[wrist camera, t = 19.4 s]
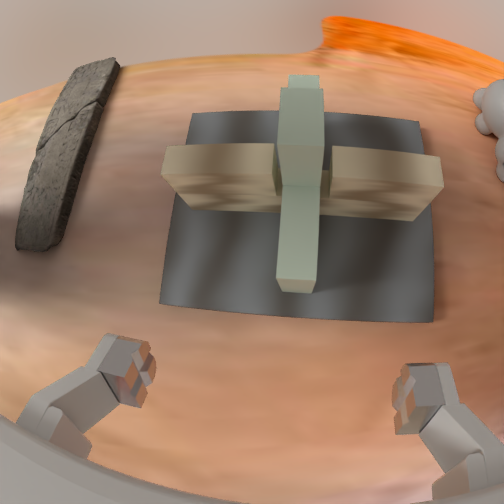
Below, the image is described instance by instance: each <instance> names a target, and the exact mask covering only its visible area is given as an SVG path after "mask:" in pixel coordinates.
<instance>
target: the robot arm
mask: <svg viewBox="0 0 504 504" xmlns="http://www.w3.org/2000/svg"><path fill="white" fill-rule="evenodd" d="M150 349H151V347H150V345H149V343H148V342H147V341H142V340H137V339H133V338H128V337H124V336H120V335H115V334H111V333H107V334H106V335H104V336H103V338H102V340H101V341H100V343H99V344H98V346H97V348H96V349H95V351H94V352H93V354H92V356H91V357H90V359H89V361H88V362H87V364H86V366H85V367H82V366H81V367H79V368H78V369H76V370H74V371H73V372H71V373H69V374H68V375H66V376H64V377H63V378H61V379H59V380H57V381H56V382H54V383H52V384H51V385H49V386H47V387H46V388H44V389H42V390H40V391H39V392H37V393H35V394H34V395H32V396H31V398H30V400H29V401H28V403H27V405H26V406H25V408H24V410H23V411H22V413H21V415H20V417H19V418H18V420H17V422H16V423H14V422H13V421H11V420H9V419H8V418H6V417H4V416H3V415H1V414H0V504H249V503H242V502H235V501H229V500H223V499H217V498H212V497H207V496H202V495H198V494H193V493H189V492H185V491H180V490H177V489H173V488H169V487H165V486H162V485H158V484H155V483H151V482H148V481H145V480H142V479H138V478H135V477H132V476H129V475H126V474H124V473H121V472H118V471H115V470H112V469H110V468H107V467H105V466H102V465H99V464H97V463H95V462H92V461H90V460H87V457H88V455H89V453H90V450H91V448H92V444H91V442H90V441H89V440H88V439H87V438H86V437H85V436H84V435H83V434H84V433H85V432H86V431H87V430H89V429H90V428H91V427H92V426H94V425H95V424H96V423H97V422H99V421H100V420H101V419H102V418H103V417H105V416H106V415H107V414H108V413H110V412H111V411H112V410H113V409H115V408H116V407H117V406H118V405H120V404H119V403H121V404H125V405H129V406H133V407H137V408H141V407H142V405H143V403H144V400H145V398H146V396H147V394H148V392H147V389H146V387H147V386H148V385H150V384H151V383H152V382H153V380H154V377H155V373H156V361H155V358H154V357H153V356H152V355H151V354H150V353H149V351H150ZM392 406H393V407H394V408H395V409H396V410H397V411H398V412H397V413H396V415H395V416H394V424H395V434H396V435H404V434H419V436H420V438H421V439H422V441H423V442H424V443H425V445H426V446H427V448H428V449H429V451H430V452H431V454H432V455H433V456H434V458H435V459H436V461H437V462H438V464H439V465H440V467H441V468H442V470H443V471H444V473H445V474H444V475H443V476H442V477H440V478H439V479H438V480H436V481H435V482H434V483H433V484H432V496H433V500H431V501H425V502H418V503H412V504H504V445H503V444H502V442H501V441H500V440H499V439H498V438H497V437H496V436H495V435H494V434H493V433H492V432H491V431H490V430H489V429H488V428H487V427H486V426H485V425H484V424H483V422H482V421H481V420H480V419H479V418H478V417H477V416H476V415H475V414H474V413H473V412H472V411H471V410H470V409H469V408H468V407H467V406H466V405H465V404H464V403H461V404H460V401H459V397H458V393H457V389H456V386H455V382H454V379H453V375H452V372H451V368H450V365H449V364H448V363H447V362H444V363H411V364H405V365H403V367H402V369H401V376H400V377H399V378H397V379H396V381H395V383H394V385H393V390H392Z"/></svg>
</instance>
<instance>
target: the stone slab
mask: <svg viewBox="0 0 504 504" xmlns="http://www.w3.org/2000/svg"><path fill="white" fill-rule="evenodd" d="M115 59H116V58H114V57H112V58H108V59H105V60H101V61H96V62H93V63H89V64H86V65H83V66H80V67H78V68H77V69H75V70H74V71H73V73H72V75H71V76H70V78H69V79H68V81H67V83H66V85H65V86H64V88H63V90H62V92H61V93H60V95H59V97H58V99H57V101H56V102H55V104H54V106H53V108H52V110H51V112H50V115H49V117H48V119H47V121H46V124H45V126H44V129H43V132H42V134H41V137H40V139H39V142H38V145H37V148H36V157H35V159H34V160H33V162H32V165H31V168H30V170H29V174H28V180H27V184H26V186H25V188H24V195H23V200H22V204H21V209H20V216H19V219H18V225H17V230H16V238H15V247H16V249H17V250H18V249H26V250H33V251H38V252H43V251H47V250H48V249H49V248H50V247H51V246H54V245H57V244H58V243H59V241H60V240H61V238H62V237H63V235H64V231H65V228H66V225H67V221H68V218H69V215H70V211H71V208H72V205H73V202H74V198H75V195H76V191H77V187H78V184H79V180H80V177H81V173H82V170H83V166H84V163H85V161H86V157H87V155H88V152H89V150H90V147H91V144H92V141H93V138H94V134H95V132H96V129H97V126H98V123H99V120H100V118H101V115H102V113H103V107H104V105H105V104H106V101H107V99H108V96H109V94H110V91H111V89H112V86H113V84H114V82H115V80H116V77H117V75H118V72H119V68H120V65H119V64H118V63H117V62H116V61H115Z"/></svg>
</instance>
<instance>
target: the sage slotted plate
mask: <svg viewBox="0 0 504 504" xmlns="http://www.w3.org/2000/svg"><path fill="white" fill-rule="evenodd" d="M277 148H278V155H279V162H280V169H281V176H282V183H283V189H282V204H281V218H280V232H279V245H278V258H277V270H276V279H277V281H278V284H279V286H280V288H281V290H282V292H295V293H310V294H312V291H313V288H314V285H315V283H316V276H317V257H318V236H319V207H320V183H321V174H322V165H323V156H324V99H323V89H319V76H316V75H289V81H288V88H281V93H280V108H279V123H278V138H277Z"/></svg>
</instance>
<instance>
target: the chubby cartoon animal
mask: <svg viewBox="0 0 504 504" xmlns="http://www.w3.org/2000/svg"><path fill="white" fill-rule="evenodd" d="M473 101H474V103H475V105H476V106H477V107H478V108H479V109H480V110H482V113H480V114H479V115H478V116H477V117H476V119H475V125H476V128H477V129H478V131H479V132H480V133H481V134H484V135H488V134H491V133H493V134H494V135H495V136H497V137H498V138H499V140H498V142H497V143H496V147H495V156H496V159H497V161H498V164H497V168H496V173H497V176H498V178H499V179H500V180H501V181H502V182H503V183H504V79H501V80H497V81H495V82H493V83H491V84H490V85H489V86H488V87H487V88H481V89H478V90H477V91H475V93H474V95H473Z"/></svg>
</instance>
